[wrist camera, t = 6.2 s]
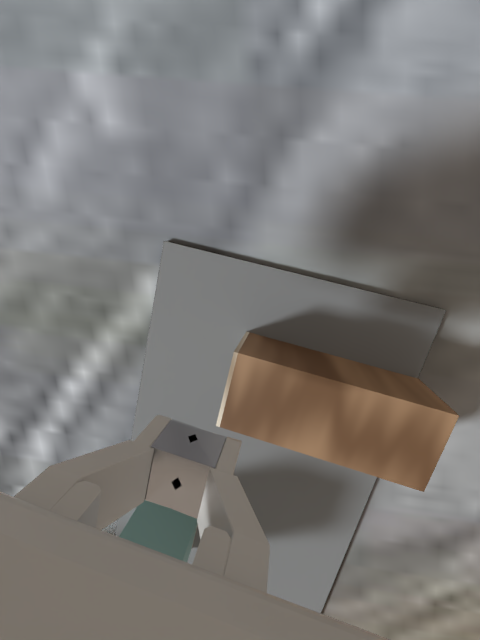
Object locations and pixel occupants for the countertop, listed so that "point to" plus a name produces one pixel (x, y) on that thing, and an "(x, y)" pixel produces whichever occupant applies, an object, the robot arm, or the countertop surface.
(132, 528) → the teal block
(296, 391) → the walnut block
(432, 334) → the mat
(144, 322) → the countertop surface
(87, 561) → the robot arm
